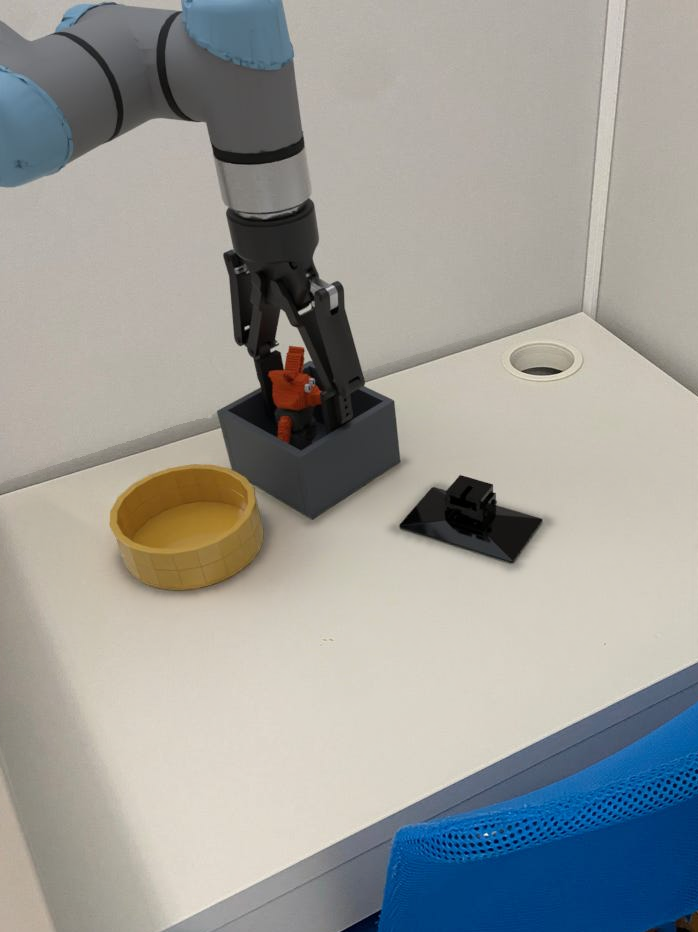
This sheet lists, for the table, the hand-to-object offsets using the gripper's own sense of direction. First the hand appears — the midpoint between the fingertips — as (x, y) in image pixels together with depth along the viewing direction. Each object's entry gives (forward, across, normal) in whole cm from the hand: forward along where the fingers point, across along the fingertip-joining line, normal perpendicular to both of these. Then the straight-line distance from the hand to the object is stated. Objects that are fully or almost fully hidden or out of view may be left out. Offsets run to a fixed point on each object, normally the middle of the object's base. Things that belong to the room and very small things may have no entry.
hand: (309, 428), depth 96 cm
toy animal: (+4, 0, 0) cm, 4 cm away
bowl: (+5, 0, +16) cm, 17 cm away
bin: (+5, 0, 0) cm, 5 cm away
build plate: (+5, -19, -3) cm, 20 cm away
